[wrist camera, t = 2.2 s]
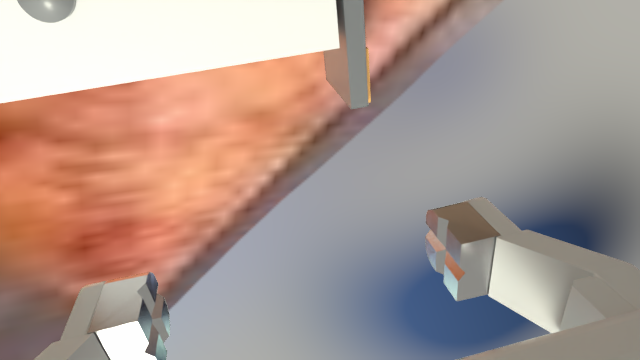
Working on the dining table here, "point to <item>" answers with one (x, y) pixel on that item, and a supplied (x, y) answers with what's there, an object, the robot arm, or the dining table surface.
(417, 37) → the dining table surface
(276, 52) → the white box with hole
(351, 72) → the side door
